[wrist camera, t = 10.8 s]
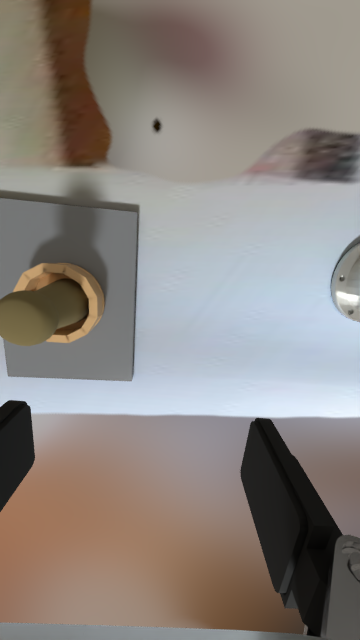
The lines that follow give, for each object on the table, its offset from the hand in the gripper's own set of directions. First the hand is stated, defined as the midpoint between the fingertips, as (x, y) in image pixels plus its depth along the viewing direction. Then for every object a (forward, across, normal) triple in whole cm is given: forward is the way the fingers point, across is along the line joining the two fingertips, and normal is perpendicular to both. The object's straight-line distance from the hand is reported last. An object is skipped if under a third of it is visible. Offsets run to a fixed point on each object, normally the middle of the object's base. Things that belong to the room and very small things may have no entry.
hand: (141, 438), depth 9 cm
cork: (+22, +13, -1) cm, 26 cm away
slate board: (+24, +14, -1) cm, 27 cm away
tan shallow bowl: (+22, +14, -1) cm, 26 cm away
